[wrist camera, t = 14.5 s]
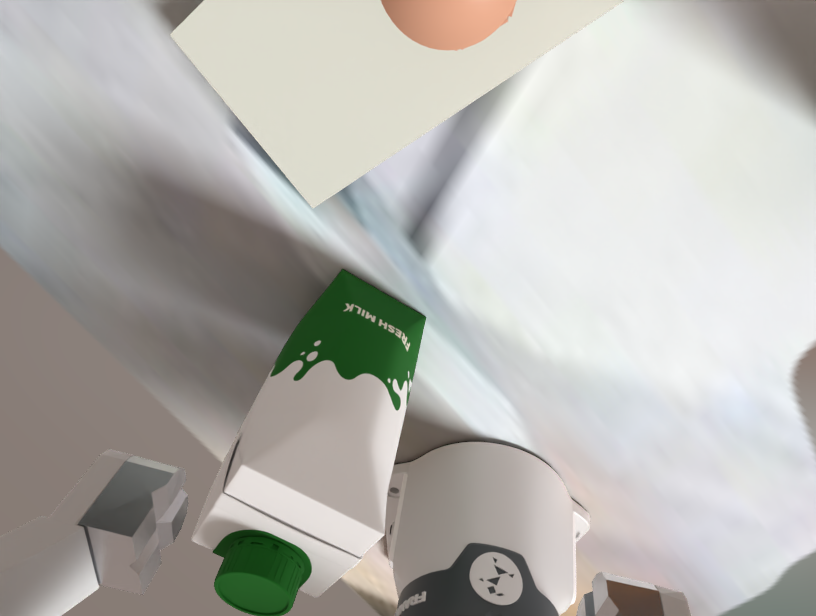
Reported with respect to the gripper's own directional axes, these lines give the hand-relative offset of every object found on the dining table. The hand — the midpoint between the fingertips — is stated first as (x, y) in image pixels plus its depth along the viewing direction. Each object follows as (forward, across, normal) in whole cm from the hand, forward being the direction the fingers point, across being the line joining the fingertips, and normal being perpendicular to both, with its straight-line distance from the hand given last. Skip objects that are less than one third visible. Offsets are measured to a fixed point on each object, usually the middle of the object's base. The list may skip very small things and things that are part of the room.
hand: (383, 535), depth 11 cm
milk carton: (+28, +5, +16) cm, 32 cm away
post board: (+27, +6, -5) cm, 28 cm away
